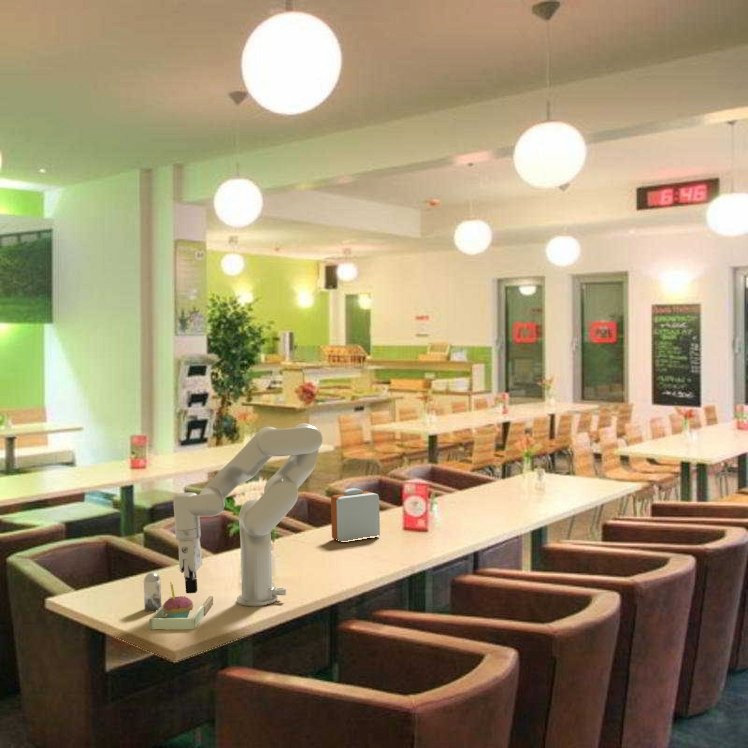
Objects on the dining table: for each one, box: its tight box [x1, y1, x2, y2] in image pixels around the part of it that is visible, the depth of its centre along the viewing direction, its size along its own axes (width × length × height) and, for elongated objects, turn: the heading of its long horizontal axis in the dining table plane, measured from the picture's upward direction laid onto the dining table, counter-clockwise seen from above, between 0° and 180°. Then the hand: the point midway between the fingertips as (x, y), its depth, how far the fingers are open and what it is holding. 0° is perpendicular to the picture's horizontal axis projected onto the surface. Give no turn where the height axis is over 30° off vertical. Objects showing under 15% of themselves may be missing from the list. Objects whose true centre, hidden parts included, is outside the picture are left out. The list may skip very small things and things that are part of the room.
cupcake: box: [162, 581, 194, 618], centre depth 242 cm, size 9×8×12 cm
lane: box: [161, 595, 214, 617], centre depth 253 cm, size 13×11×2 cm
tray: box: [148, 604, 205, 630], centre depth 241 cm, size 13×12×3 cm
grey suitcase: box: [330, 487, 381, 542], centre depth 342 cm, size 18×9×21 cm, turn 120°
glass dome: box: [143, 572, 162, 612], centre depth 254 cm, size 5×5×11 cm
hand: (191, 592), depth 255 cm, fingers closed
